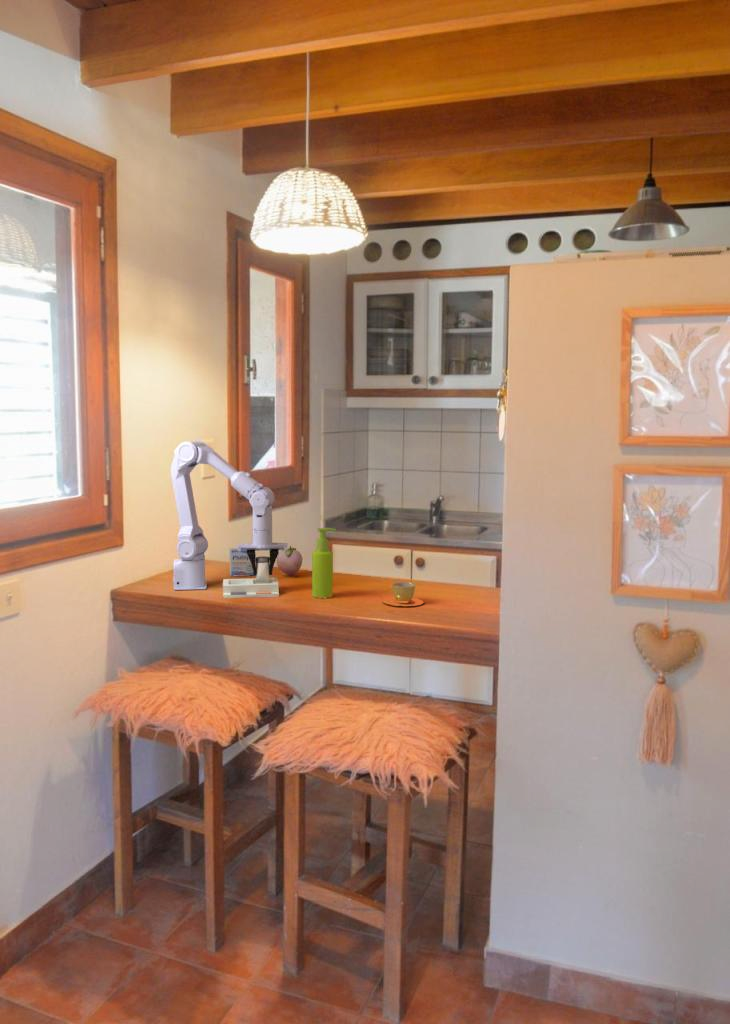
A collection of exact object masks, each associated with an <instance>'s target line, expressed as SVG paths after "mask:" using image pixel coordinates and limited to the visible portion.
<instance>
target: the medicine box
mask: <svg viewBox="0 0 730 1024" xmlns="http://www.w3.org/2000/svg"><path fill="white" fill-rule="evenodd" d="M229 575H230V577H232V576H233V575H252V577H254V576H255V577H256V575H254V572H253V567H252V564H251V562H250V559H249V557H248V555H247V551H238V547H237V548H229Z"/></svg>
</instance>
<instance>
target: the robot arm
mask: <svg viewBox="0 0 730 1024" xmlns="http://www.w3.org/2000/svg"><path fill="white" fill-rule="evenodd" d="M173 452H174V456H173V459H172V462H171V466H170V476H171V483H172V488H173V494H174V498H175V499H174V500H175V504H176V511H177V516H178V523H179V531H178V533H177V536H176V537H177V545H176V552H177V554H178V556H179V557H180V558H173V577H172V583H173V590H174V591H184V590H185V591H187V590H188V591H190V590H207V585H208V582H207V581H206V555H205V553H206V552H207V551H208V550H207V549H208V547H209V543H208V539H207V538H206V536H205V534H204V530H203V529H202V527H201V526H200V525H199V521H198V515H197V509H196V504H195V498H194V492H193V485H192V481H191V475H190V474H191V472H192V471H193V470H194V469H195V467H196V466H197V465H199V464H201V465H209V466H210V467H212V468H213V469H214V470H215V471H218V472H219V473H220V474H221V475H223V476H224V477H226V478H227V479H228V480H230V486H231V487H232V488H233V489H235V491H236V492H237V493H239V494H240V495H242V496H243V497H245V499H247V500H248V501H249V504H250V506H251V507H252V542H248V543H237V548H238V551H247V555H248V557H249V559H250V562H251V564H252V567H253V572H254V575H255V576H256V557H257V556H256V555H257V554H256V551H257V552H259V551H269V557H270V562H269V563H270V576H273V570H274V565H275V563H276V562H277V557H278V555H279V553H280V552H279V551H283V550H287V549H288V543H287V542H273V504H274V502H275V494H274V492H273V491H272V489H271V488H270V487H266V486H264V485H263V483H259V482H258V481H257V480H255V479H254V478H253V477H252V474H251V473H250V472H245V470H244V471H242V470H241V471H239V470H237V469H235V467H233V466H232V465H231V464H230V463H229V462H228V461H227V460H226V459H224V458H223V457H222V456H221V455H220V454H219V453H218V452H216V451H215V450H214V449H213V447H211V446H210V445H207V443H205V442H204V441H202V440H195V441H183V442H181V443H179V444H178V445H177V447H176V448H175V449H174V451H173Z"/></svg>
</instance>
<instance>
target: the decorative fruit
mask: <svg viewBox="0 0 730 1024" xmlns="http://www.w3.org/2000/svg"><path fill="white" fill-rule="evenodd" d="M276 564H277V565H276V566H277V568H278V569H279V570H280V571H281V572H282V573H284V574H286V575H287V576H289V577H292V576H294V575H295V574H297V573H298V572H299V571H300V569H301V568H302V564H303V556H302V554H301V552H300V551H299V550H297V548H295V547H292V546H291V545H290V546H289V548H287V550H280V552H279V554H278V556H277V558H276Z"/></svg>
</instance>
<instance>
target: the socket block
mask: <svg viewBox="0 0 730 1024" xmlns="http://www.w3.org/2000/svg"><path fill="white" fill-rule="evenodd" d="M279 588H280V587H279V582H278V578H277V577H270V581H269V582H256V577H255V578H223V580H222V599H239V598H241V599H242V598H270V597H271V598H272V597H273V598H274V597H277V598H278V597H280V593H279V591H280V590H279Z"/></svg>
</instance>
